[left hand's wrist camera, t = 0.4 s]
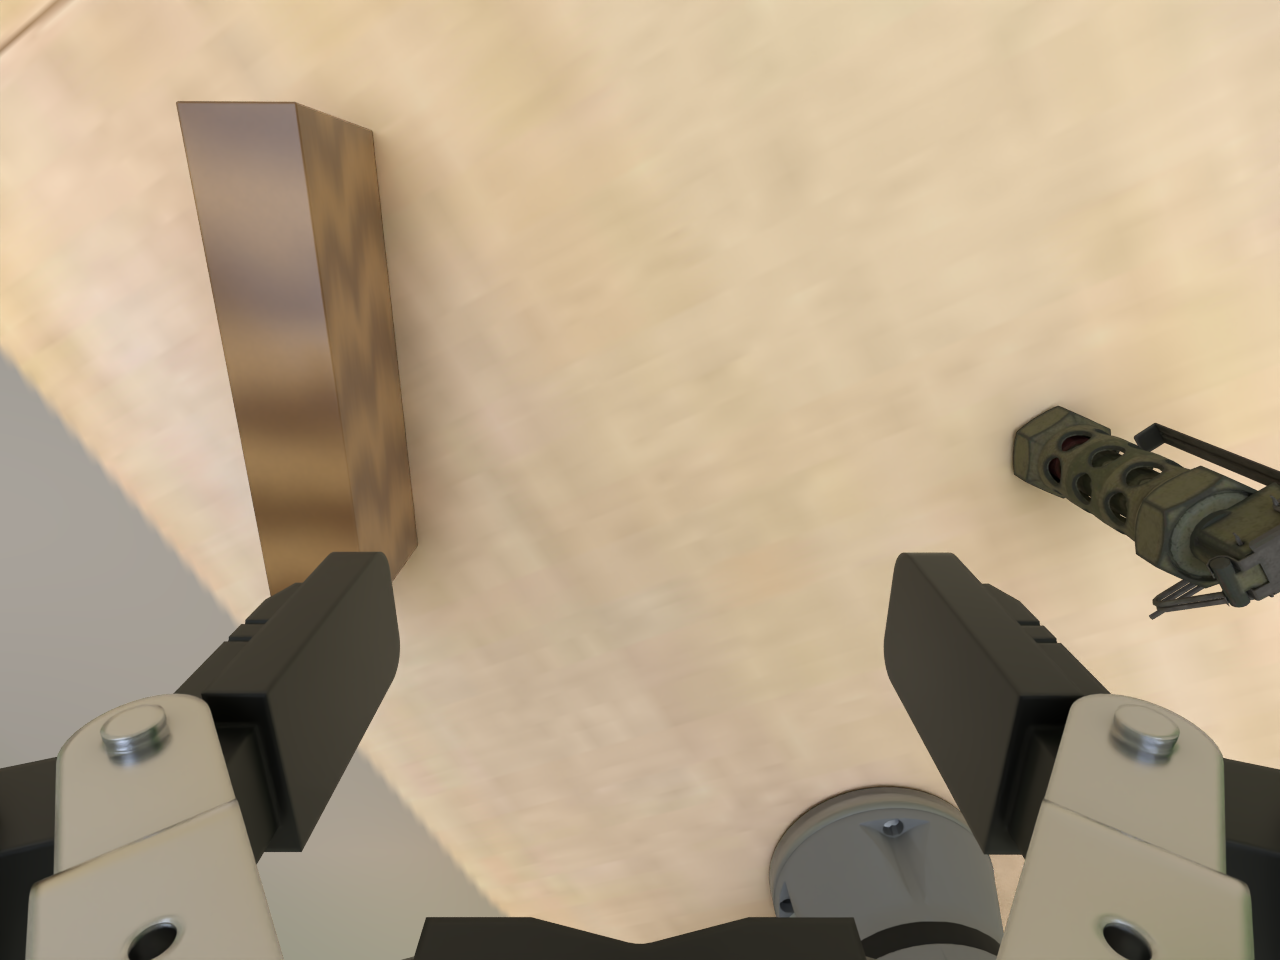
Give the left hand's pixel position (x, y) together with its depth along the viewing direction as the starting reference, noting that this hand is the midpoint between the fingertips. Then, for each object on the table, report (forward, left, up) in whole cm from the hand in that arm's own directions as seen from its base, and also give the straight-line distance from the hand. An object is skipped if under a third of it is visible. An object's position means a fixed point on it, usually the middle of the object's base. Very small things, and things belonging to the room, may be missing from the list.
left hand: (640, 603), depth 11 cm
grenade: (+6, +25, -29) cm, 38 cm away
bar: (+1, -16, -29) cm, 33 cm away
